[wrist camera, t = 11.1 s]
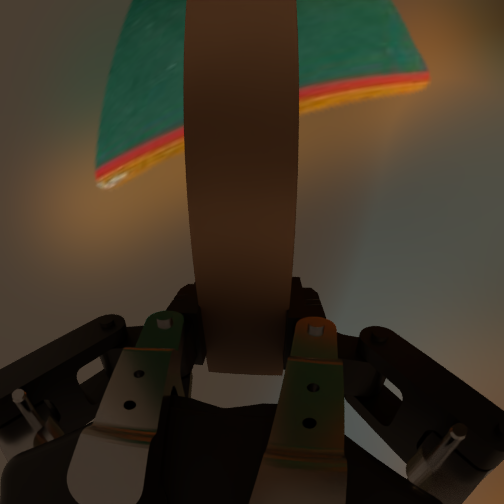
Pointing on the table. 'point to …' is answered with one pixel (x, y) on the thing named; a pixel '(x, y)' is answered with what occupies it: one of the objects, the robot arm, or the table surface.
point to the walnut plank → (242, 175)
